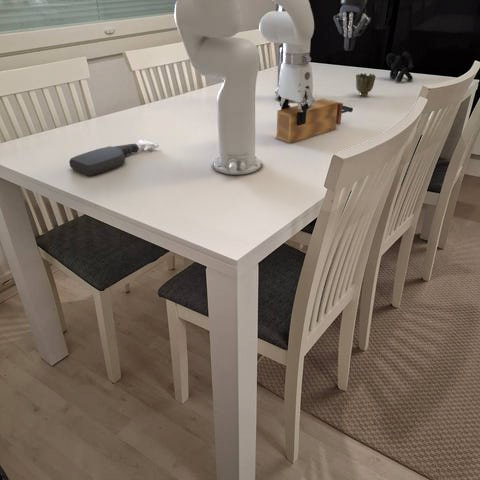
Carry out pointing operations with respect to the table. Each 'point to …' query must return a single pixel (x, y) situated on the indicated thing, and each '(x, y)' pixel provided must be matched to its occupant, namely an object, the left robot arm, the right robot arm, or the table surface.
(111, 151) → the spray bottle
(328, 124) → the cabinet
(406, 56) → the squiggle
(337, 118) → the drawer
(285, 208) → the table surface
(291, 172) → the table surface
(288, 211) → the table surface
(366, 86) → the cup
